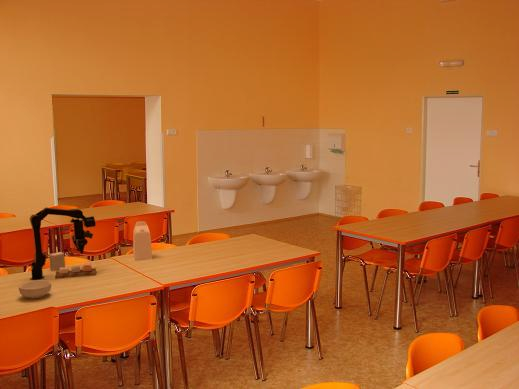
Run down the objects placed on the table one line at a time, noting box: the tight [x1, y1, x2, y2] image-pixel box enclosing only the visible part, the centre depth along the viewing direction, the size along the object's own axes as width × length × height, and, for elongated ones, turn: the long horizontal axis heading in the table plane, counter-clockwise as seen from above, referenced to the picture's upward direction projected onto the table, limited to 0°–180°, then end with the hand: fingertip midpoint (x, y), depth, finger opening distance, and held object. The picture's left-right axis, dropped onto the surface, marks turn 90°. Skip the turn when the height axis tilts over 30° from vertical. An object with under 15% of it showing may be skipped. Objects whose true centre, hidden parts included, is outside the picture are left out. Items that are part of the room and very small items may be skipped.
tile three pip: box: [82, 264, 93, 272], centre depth 350 cm, size 5×5×3 cm
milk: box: [132, 221, 153, 261], centre depth 387 cm, size 12×12×26 cm
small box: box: [48, 251, 66, 272], centre depth 363 cm, size 8×6×10 cm
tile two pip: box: [70, 265, 81, 273], centre depth 348 cm, size 5×5×3 cm
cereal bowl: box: [18, 279, 52, 300], centre depth 306 cm, size 17×17×7 cm
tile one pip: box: [58, 266, 69, 274], centre depth 346 cm, size 5×5×3 cm
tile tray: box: [54, 267, 97, 280], centre depth 348 cm, size 24×10×2 cm, turn 105°
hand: (80, 252), depth 353 cm, fingers open, 9 cm apart
